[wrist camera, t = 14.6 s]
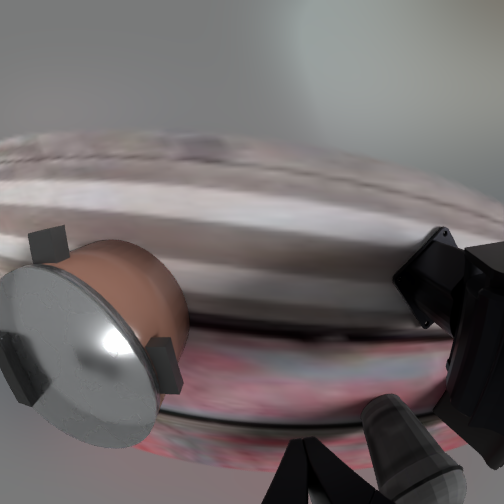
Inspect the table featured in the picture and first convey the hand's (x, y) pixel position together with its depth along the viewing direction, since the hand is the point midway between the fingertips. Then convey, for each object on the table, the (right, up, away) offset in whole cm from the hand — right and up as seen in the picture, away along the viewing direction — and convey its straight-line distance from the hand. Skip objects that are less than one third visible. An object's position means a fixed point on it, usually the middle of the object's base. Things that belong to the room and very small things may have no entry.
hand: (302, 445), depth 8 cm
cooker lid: (-13, 0, +5) cm, 14 cm away
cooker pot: (-12, +1, +13) cm, 18 cm away
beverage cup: (+11, -10, +16) cm, 22 cm away
